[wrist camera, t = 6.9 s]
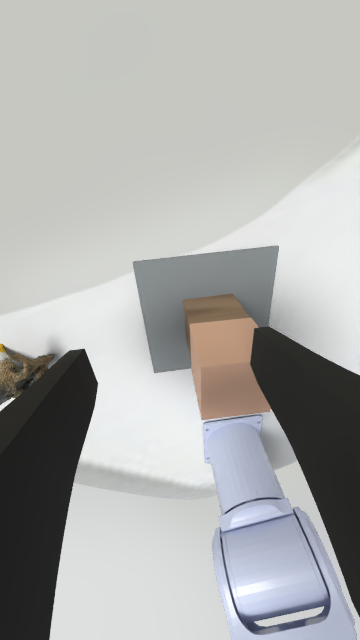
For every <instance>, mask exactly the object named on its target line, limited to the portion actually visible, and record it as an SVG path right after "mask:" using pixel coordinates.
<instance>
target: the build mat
mask: <svg viewBox="0 0 360 640" xmlns="http://www.w3.org/2000/svg"><path fill="white" fill-rule="evenodd" d="M278 250H279V246H270V247H261V248H252V249H243V250H234V251H225V252H216V253H207V254H198V255H188V256H179V257H170V258H161V259H152V260H143V261H134V262H133V267H134V272H135V277H136V283H137V288H138V293H139V298H140V303H141V308H142V313H143V318H144V323H145V329H146V334H147V339H148V344H149V349H150V354H151V359H152V364H153V369H154V373H158V372H166V371H174V370H181V369H189V368H192V366H191V360H190V355H189V350H188V346H187V341H186V330H185V318H184V307H183V300H184V299H192V298H201V297H209V296H217V295H226V294H233V295H234V296H235V298H236V299H237V300H238V302H239V303H240V304H241V306H242V307H243V308H244V310H245V311H246V312H247V314H248V315H249V316H250V318H252V319H253V320H254V322H255V323H256V324H257V326H258V327H267V326H268V321H269V314H270V307H271V300H272V293H273V286H274V279H275V272H276V265H277V258H278Z"/></svg>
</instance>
